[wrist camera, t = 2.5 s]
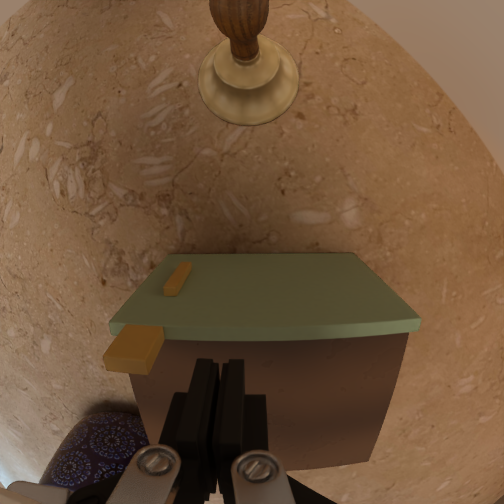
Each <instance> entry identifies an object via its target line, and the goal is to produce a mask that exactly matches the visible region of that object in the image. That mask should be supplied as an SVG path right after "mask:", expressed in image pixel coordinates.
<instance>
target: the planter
mask: <svg viewBox="0 0 504 504" xmlns="http://www.w3.org/2000/svg"><path fill="white" fill-rule="evenodd" d="M148 445H150V443H149V440H148V437H147V434H146V431H145V428H144V425H143V422H142V419H141V417H139V416H136V415H133V414H129V413H124V412H100V413H96V414H92V415H90V416H87V417H85V418H83V419H82V420H81V421H79V422H78V423H77V424H76V425H75V426H74V427H73V428H72V430H71V431H70V432H69V433H68V435H67V436H66V437H65V439H64V440H63V441H62V443H61V444H60V446H59V448H58V449H57V451H56V452H55V454H54V456H53V457H52V459H51V461H50V462H49V464H48V466H47V468H46V470H45V471H44V473H43V475H42V477H41V479H40V481H39V483H38V484H42V485H47V486H54V487H61V488H68V489H69V490H70V491H72V492H74V491H76V490H78V489H80V488H83V487H85V486H88V485H90V484H93V483H95V482H98V481H100V480H103V479H105V478H108V477H110V476H112V475H115V474H117V473H119V472H122V471H124V470H126V468H127V466H128V465H129V463H130V461H131V459H132V458H133V456H134V455H135V453H136V452H137V451H138V450H139V449H141V448H142V447H145V446H148Z"/></svg>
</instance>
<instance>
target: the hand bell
mask: <svg viewBox="0 0 504 504" xmlns="http://www.w3.org/2000/svg"><path fill="white" fill-rule="evenodd" d="M209 6H210V11H211V15H212V17H213V20H214V22H215V24H216V25H217V27H218V28H219V30H220V31H221V32H222V33H223V34H224V35H225V36H226V37H228V38H226V39H225V40H224V41H223V42H221V43H219V44H218V45H216V46H215V47H214V48H213V49H212V50H211V51H210V52H209V53H208V54H207V55H206V57H205V58H204V60H203V62H202V64H201V66H200V69H199V74H198V88H199V93H200V95H201V98H202V100H203V102H204V103H205V105H206V106H207V107H208V109H209V110H210V111H211V112H212V113H213V114H215V115H216V116H217V117H219V118H220V119H222V120H224V121H227V122H229V123H232V124H236V125H243V126H252V125H260V124H264V123H267V122H270V121H272V120H274V119H275V118H277V117H279V116H280V115H282V114H283V113H284V112H285V111H286V110H287V109H288V108H289V107H290V106H291V104H292V103H293V101H294V99H295V97H296V95H297V92H298V87H299V73H298V69H297V66H296V63H295V61H294V59H293V58H292V56H291V55H290V54H289V52H288V51H287V50H286V49H285V48H284V47H282V46H281V45H280V44H278V43H277V42H275V41H273V40H271V39H268V38H266V37H265V36H263V35H260V34H259V33H260V32H261V31H262V30H263V28H264V26H265V24H266V21H267V17H268V11H269V0H209Z"/></svg>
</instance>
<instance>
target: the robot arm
mask: <svg viewBox="0 0 504 504" xmlns="http://www.w3.org/2000/svg"><path fill="white" fill-rule="evenodd" d="M217 479H218V485H219V490H220V494H223V499H224V504H337V503H335V502H333V501H331V500H329V499H328V498H326V497H324V496H322V495H320V494H319V493H317V492H315V491H313V490H312V489H310V488H308V487H307V486H305V485H303V484H302V483H300V482H298V481H297V480H295V479H293V478H292V477H290V476H288V475H287V474H286V471H285V468H284V464H283V462H282V461H281V459H280V458H279V457H278V456H277V455H276V454H274V453H271V452H269V446H268V425H267V406H266V394H245V366H244V359H229V362H228V363H223V365H222V372H221V379H220V373H219V363H213V359H207V358H197V360H196V364H195V367H194V371H193V375H192V378H191V382H190V386H189V389H188V393H187V392H175V393H174V395H173V397H172V401H171V404H170V407H169V410H168V413H167V416H166V419H165V423H164V426H163V429H162V432H161V435H160V439H159V442H158V444H151V445H148V446H145V447H142V448H141V449H139V450H138V451H137V452H136V453H135V455H134V456H133V458H132V459H131V461H130V463H129V465H128V466H127V468H126V470H124V471H122V472H119V473H117V474H115V475H112V476H110V477H108V478H105V479H103V480H100V481H98V482H95V483H93V484H90V485H88V486H85V487H83V488H80V489H78V490H76V491H74V492H72V491H70V490H69V489H68V488H61V487H54V486H47V485H42V484H36V483H31V482H26V481H15V482H12V483H11V484H10V485H9V486H8V487H7V489H4V488H0V504H204V501H209V496H210V493H216V485H217Z"/></svg>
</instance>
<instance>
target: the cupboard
mask: <svg viewBox="0 0 504 504" xmlns="http://www.w3.org/2000/svg"><path fill="white" fill-rule="evenodd" d="M408 335H409V332H406V333H396V334H386V335H375V336H364V337H350V338H335V339H316V340H290V341H198V340H172V339H165V340H164V342H163V344H162V346H161V349H160V351H159V353H158V355H157V357H156V359H155V361H154V364H153V366H152V368H151V370H150V372H149V374H148V375H140V374H130V373H129V377H130V380H131V384H132V388H133V391H134V395H135V398H136V402H137V405H138V409H139V412H140V415H141V419H142V422H143V425H144V428H145V431H146V434H147V437H148V440H149V443H150V445H151V444H158V442H159V439H160V435H161V432H162V429H163V426H164V423H165V419H166V416H167V413H168V410H169V407H170V404H171V401H172V397H173V395H174V393H175V392H187V393H188V389H189V386H190V382H191V378H192V375H193V371H194V367H195V364H196V360H197V358H207V359H213V363H219V373H220V379H221V372H222V365H223V363H228V362H229V359H244V366H245V394H266V406H267V425H268V446H269V452H271V453H274V454H276V455H277V456H278V457H279V458H280V459H281V461H282V462H283V464H284V468H285V471H293V470H306V469H317V468H326V467H334V466H342V465H349V464H355V463H361V462H367V461H369V458H370V456H371V453H372V451H373V448H374V446H375V443H376V441H377V438H378V435H379V433H380V430H381V427H382V424H383V422H384V419H385V416H386V413H387V410H388V407H389V404H390V401H391V398H392V395H393V391H394V388H395V385H396V381H397V378H398V374H399V371H400V367H401V363H402V360H403V356H404V352H405V348H406V344H407V340H408Z"/></svg>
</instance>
